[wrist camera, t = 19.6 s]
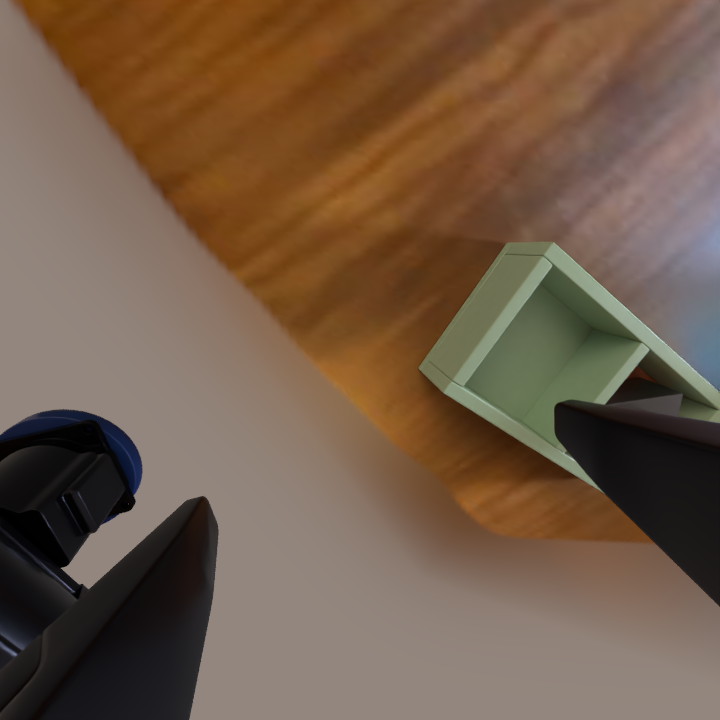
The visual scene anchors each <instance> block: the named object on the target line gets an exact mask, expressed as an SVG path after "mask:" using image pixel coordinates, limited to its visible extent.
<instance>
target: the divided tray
mask: <svg viewBox="0 0 720 720" xmlns="http://www.w3.org/2000/svg"><path fill="white" fill-rule="evenodd" d="M418 369H419V370H420V371H421V372H422V373H423V374H424V375H425V376H426V377H427V378H428V379H429V380H430V381H431V382H432V383H433V384H434V385H435V386H436V387H437V388H438V389H439V390H440V391H441V392H442V393H444V394H445V395H447V396H448V397H450V398H452V399H453V400H455V401H456V402H458V403H460V404H461V405H463V406H464V407H466V408H468V409H469V410H471V411H472V412H474V413H476V414H477V415H479V416H480V417H482V418H484V419H485V420H487V421H488V422H490V423H492V424H493V425H495V426H496V427H498V428H500V429H501V430H503V431H504V432H506V433H508V434H509V435H511V436H512V437H514V438H516V439H517V440H519V441H520V442H522V443H524V444H525V445H527V446H528V447H530V448H532V449H533V450H535V451H536V452H538V453H540V454H541V455H543V456H544V457H546V458H548V459H549V460H551V461H552V462H554V463H556V464H557V465H559V466H560V467H562V468H564V469H565V470H567V471H568V472H570V473H572V474H573V475H575V476H576V477H578V478H580V479H581V480H583V481H584V482H586V483H588V484H589V485H591V486H592V487H594V488H596V489H597V490H599V491H600V492H602V490H601V489H600V488H599V487H598V486H597V485H596V484H595V483H594V482H593V481H592V480H591V479H590V477H589V476H588V475H587V474H586V473H585V472H584V470H583V469H582V468H581V467H580V466H579V464H578V463H577V462H576V461H575V460H574V459H573V457H572V456H571V455H570V454H569V453H568V451H567V450H566V449H565V448H564V447H563V445H562V444H561V443H560V442H559V441H558V439H557V438H556V435H555V432H554V407H555V405H556V404H557V403H558V402H562V401H566V400H570V399H573V400H579V401H586V402H592V403H598V404H604V405H605V404H606V402H607V401H608V400H609V399H610V397H611V396H612V395H613V394H614V393H615V391H616V390H617V389H618V388H619V387H620V385H621V384H622V383H623V382H624V380H625V379H630V378H637V377H641V378H644V379H646V380H649V381H652V382H654V383H657V384H660V385H662V386H665V387H668V388H670V389H673V390H676V391H678V392H681V393H683V396H682V401H681V405H680V410H679V414H678V416H679V417H685V418H691V419H697V420H704V421H710V422H716V423H719V422H720V392H719V391H717V390H716V389H715V388H714V387H713V386H712V385H711V384H710V383H709V382H707V381H706V380H705V379H704V378H703V377H702V376H701V375H700V374H699V373H698V372H696V371H695V370H694V369H693V368H692V367H691V366H690V365H689V364H688V363H686V362H685V361H684V360H683V359H682V358H681V357H680V356H679V355H678V354H677V353H675V352H674V351H673V350H672V349H671V348H670V347H669V346H668V345H667V344H665V343H664V342H663V341H662V340H661V339H660V338H659V337H658V336H657V335H656V334H654V333H653V332H652V331H651V330H650V329H649V328H648V327H647V326H646V325H644V324H643V323H642V322H641V321H640V320H639V319H638V318H637V317H636V316H635V315H633V314H632V313H631V312H630V311H629V310H628V309H627V308H626V307H625V306H623V305H622V304H621V303H620V302H619V301H618V300H617V299H616V298H615V297H614V296H612V295H611V294H610V293H609V292H608V291H607V290H606V289H605V288H604V287H603V286H601V285H600V284H599V283H598V282H597V281H596V280H595V279H594V278H593V277H591V276H590V275H589V274H588V273H587V272H586V271H585V270H584V269H583V268H582V267H580V266H579V265H578V264H577V263H576V262H575V261H574V260H573V259H572V258H570V257H569V256H568V255H567V254H566V253H565V252H564V251H563V250H562V249H561V248H559V247H558V246H557V245H556V244H555V243H554V242H525V243H506V245H505V246H504V248H503V249H502V250H501V252H500V253H499V255H498V256H497V258H496V259H495V260H494V262H493V263H492V265H491V266H490V267H489V269H488V270H487V272H486V273H485V274H484V276H483V277H482V279H481V280H480V281H479V283H478V284H477V286H476V287H475V289H474V290H473V291H472V293H471V294H470V296H469V297H468V298H467V300H466V301H465V303H464V304H463V305H462V307H461V308H460V310H459V311H458V313H457V314H456V315H455V317H454V318H453V320H452V321H451V322H450V324H449V325H448V327H447V328H446V329H445V331H444V332H443V334H442V335H441V336H440V338H439V339H438V341H437V342H436V344H435V345H434V346H433V348H432V349H431V351H430V352H429V353H428V355H427V356H426V358H425V359H424V360H423V362H422V363H421V365H420V366H419V368H418ZM602 493H603V492H602Z"/></svg>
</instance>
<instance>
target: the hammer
mask: <svg viewBox="0 0 720 720" xmlns="http://www.w3.org/2000/svg"><path fill="white" fill-rule="evenodd" d="M682 396H683V393H681V392H678V391H676V390H673V389H670V388H668V387H665V386H662V385H660V384H657V383H654V382H652V381H649V380H646V379H644V378H641V377H637V378H630V379H625V380H624V382H623V383H622V384H621V385H620V387H619V388H618V389H617V390H616V391H615V393H614V394H613V395H612V396H611V397H610V399H609V400H608V401H607V402H606V404H605V405H610V406H617V407H623V408H629V409H635V410H641V411H648V412H654V413H660V414H666V415H673V416H678V414H679V410H680V405H681V401H682Z"/></svg>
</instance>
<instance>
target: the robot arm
mask: <svg viewBox="0 0 720 720" xmlns="http://www.w3.org/2000/svg"><path fill="white" fill-rule="evenodd" d="M86 426H88V427H90V428H91V429H92V431H89V430H88V429H87V428H86ZM554 432H555V435H556V438H557V439H558V441H559V442H560V443H561V444H562V445H563V447H564V448H565V449H566V450H567V451H568V453H569V454H570V455H571V456H572V457H573V459H574V460H575V461H576V462H577V463H578V464H579V466H580V467H581V468H582V469H583V470H584V472H585V473H586V474H587V475H588V476H589V477H590V479H591V480H592V481H593V482H594V483H595V484H596V485H597V486H598V487H599V488H600V489H601V490H602V492H603V493H604V494H605V495H606V496H607V497H608V498H610V499H611V500H612V501H613V502H614V503H615V504H616V505H617V506H618V507H619V508H620V509H621V510H622V511H623V512H624V513H625V514H626V515H627V516H628V517H629V518H630V519H631V520H632V521H633V522H634V523H635V524H636V525H637V526H638V527H639V528H640V529H641V530H642V531H643V532H644V533H645V534H646V535H647V536H648V537H649V538H650V539H651V540H652V541H653V542H654V543H655V544H656V545H657V546H658V547H659V548H661V549H662V550H663V551H664V552H665V553H666V554H667V555H668V556H669V557H670V558H671V559H672V560H673V561H674V562H675V563H676V564H677V565H678V566H679V567H680V568H681V569H682V570H683V571H684V572H685V573H686V574H687V575H688V576H689V577H690V578H691V579H692V580H693V581H694V582H695V583H696V584H698V586H699V587H700V588H701V589H702V590H703V591H704V592H705V593H706V594H708V596H709V597H710V598H711V599H713V600H714V601H715V602H716V603H717V604H718V605H719V606H720V423H716V422H710V421H704V420H697V419H691V418H685V417H679V416H673V415H666V414H660V413H654V412H648V411H641V410H635V409H629V408H623V407H617V406H610V405H604V404H598V403H592V402H586V401H579V400H573V399H570V400H566V401H562V402H558V403H557V404H556V405H555V407H554ZM123 502H127V503H128V504H129V505H126V504H124V503H123ZM135 503H136V500H135V497H134V495H133V493H132V491H131V489H130V487H129V481H128V479H127V477H126V475H125V473H124V471H123V469H122V467H121V464H120V462H119V460H118V458H117V456H116V454H115V452H114V451H113V450H112V449H111V447H110V445H109V443H108V441H107V439H106V437H105V435H104V433H103V431H102V429H101V427H100V425H99V423H98V422H96V421H95V420H91V419H90V420H84V421H80V422H75V423H71V424H67V425H63V426H58V427H54V428H50V429H46V430H41V431H37V432H33V433H29V434H24V435H20V436H16V437H12V438H7V439H3V440H0V720H189V718H190V713H191V708H192V703H193V698H194V693H195V687H196V682H197V677H198V672H199V667H200V662H201V657H202V652H203V647H204V641H205V636H206V630H207V626H208V621H209V616H210V611H211V605H212V599H213V591H214V580H215V568H216V555H217V544H218V525H217V521H216V519H215V516H214V514H213V511H212V509H211V506H210V504H209V501H208V500H207V498H206V497H204V496H202V497H198V498H194V499H190V500H187V501H185V502H184V503H183V504H182V505H181V506H180V507H179V508H178V509H177V510H176V511H175V512H173V513H172V514H171V515H170V516H169V517H168V518H167V519H166V520H165V521H164V522H162V523H161V524H160V525H159V526H158V527H157V528H156V529H155V530H154V531H153V532H151V534H149V535H148V536H147V537H146V538H145V539H144V540H143V541H142V542H140V543H139V544H138V545H137V546H136V547H135V548H134V549H133V550H132V551H131V552H129V554H127V555H126V556H125V557H124V558H123V559H122V560H121V561H120V562H118V564H116V565H115V566H114V567H113V568H112V569H111V570H110V571H109V572H108V573H106V575H104V576H103V577H102V578H101V579H100V580H99V581H98V582H97V583H95V584H94V585H93V586H92V587H91V588H90V589H87V588H86V587H85V586H84V585H83V584H81V585H79V584H78V583H77V582H75V581H74V580H73V579H72V578H71V577H70V576H69V575H67V574H66V573H65V572H64V571H63V570H62V569H61V568H62V567H65V566H67V565H69V563H70V562H71V561H72V559H73V558H74V556H75V555H76V553H77V552H78V551H79V549H80V548H81V546H82V545H83V544H84V542H85V541H86V539H87V538H88V536H89V535H90V534H91V533H95V532H96V531H97V530H98V528H99V526H100V525H101V524H102V523H103V521H104V520H105V518H106V517H110V516H113V515H117V514H121V513H125V512H128V511H130V510H131V509H132V508H133V507H134V505H135Z"/></svg>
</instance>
